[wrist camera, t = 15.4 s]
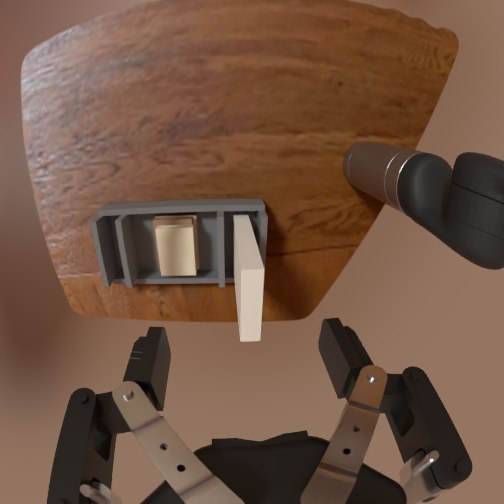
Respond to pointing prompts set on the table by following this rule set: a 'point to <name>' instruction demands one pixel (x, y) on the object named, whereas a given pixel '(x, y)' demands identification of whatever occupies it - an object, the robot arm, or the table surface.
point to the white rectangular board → (247, 278)
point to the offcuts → (177, 243)
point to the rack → (144, 248)
